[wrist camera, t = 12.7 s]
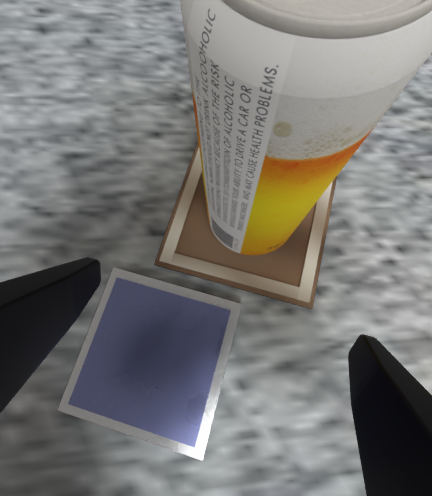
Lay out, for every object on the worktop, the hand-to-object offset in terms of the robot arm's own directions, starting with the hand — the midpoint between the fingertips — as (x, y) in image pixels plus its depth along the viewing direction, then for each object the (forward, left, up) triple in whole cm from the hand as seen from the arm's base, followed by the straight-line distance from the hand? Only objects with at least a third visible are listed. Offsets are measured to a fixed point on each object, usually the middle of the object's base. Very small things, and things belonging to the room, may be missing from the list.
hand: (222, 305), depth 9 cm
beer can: (+7, 0, -9) cm, 12 cm away
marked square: (+7, 0, -9) cm, 12 cm away
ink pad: (-4, +3, -9) cm, 10 cm away
